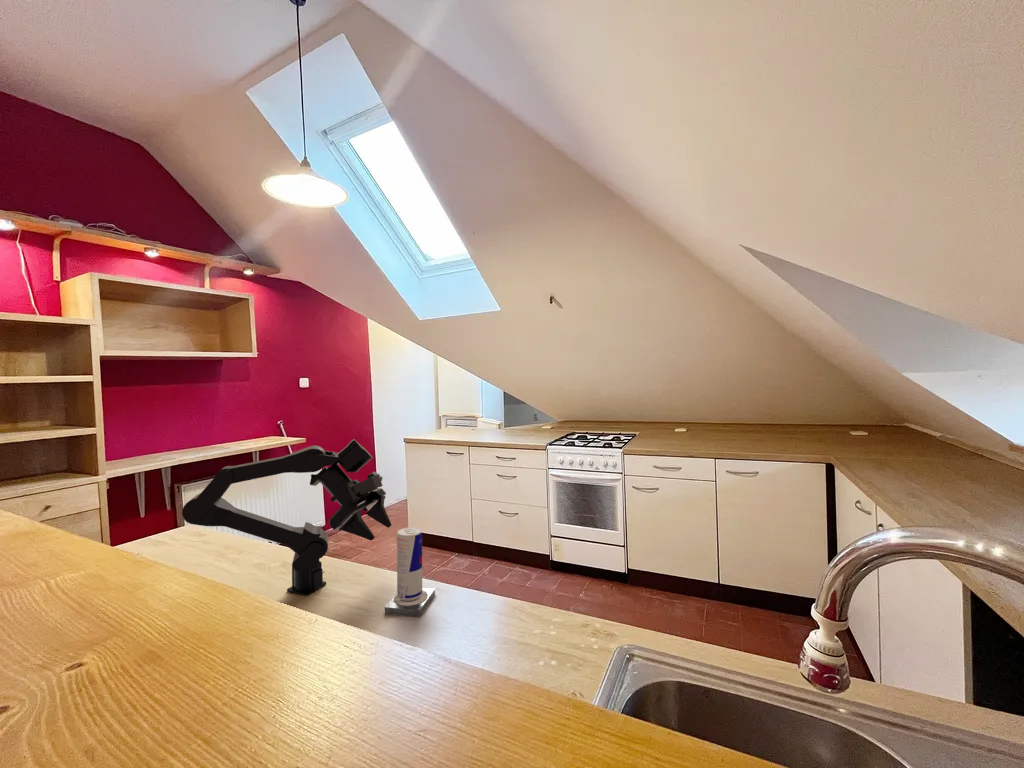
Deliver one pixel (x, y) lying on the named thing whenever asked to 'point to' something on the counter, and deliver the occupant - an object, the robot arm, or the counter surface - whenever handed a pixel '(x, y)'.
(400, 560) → the beverage can
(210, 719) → the counter surface
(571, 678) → the counter surface
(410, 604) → the plate
